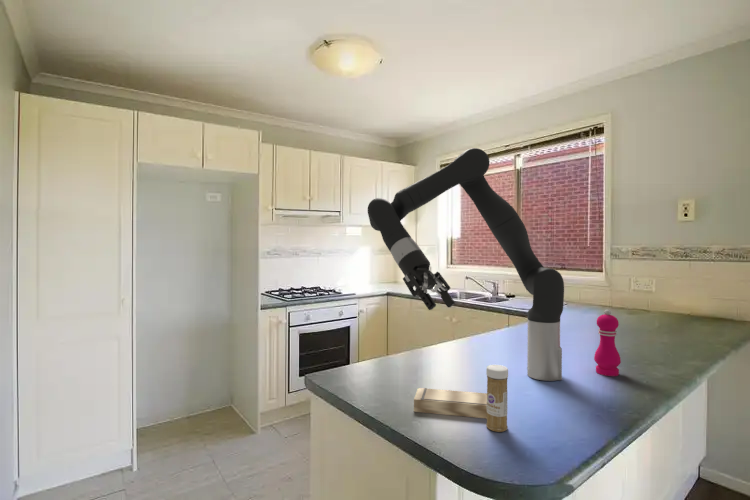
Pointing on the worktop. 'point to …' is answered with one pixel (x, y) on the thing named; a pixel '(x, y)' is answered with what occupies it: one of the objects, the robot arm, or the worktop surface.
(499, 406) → the sprinkles bottle
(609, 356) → the pepper mill
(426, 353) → the worktop surface
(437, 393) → the maple plank
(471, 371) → the worktop surface
